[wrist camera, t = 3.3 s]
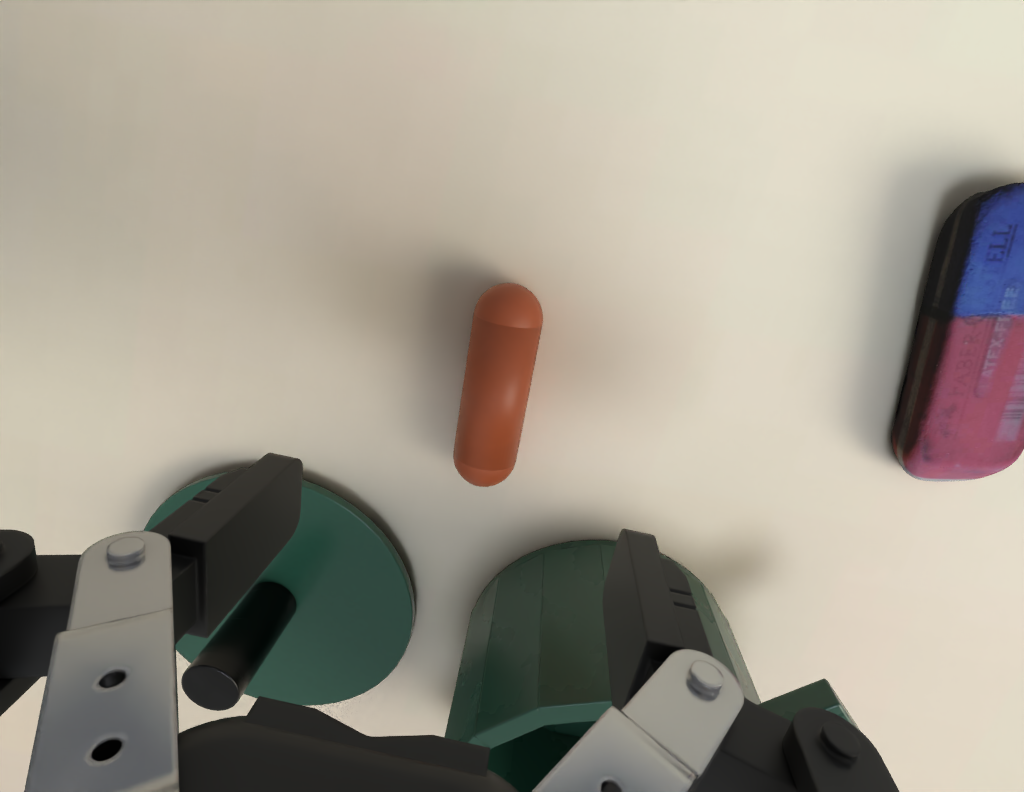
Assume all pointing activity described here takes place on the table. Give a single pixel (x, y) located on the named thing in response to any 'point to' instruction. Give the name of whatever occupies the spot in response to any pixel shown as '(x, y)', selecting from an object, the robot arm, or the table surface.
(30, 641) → the robot arm
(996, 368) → the eraser
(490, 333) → the hot dog
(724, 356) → the table surface
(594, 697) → the pot
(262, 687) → the lid
